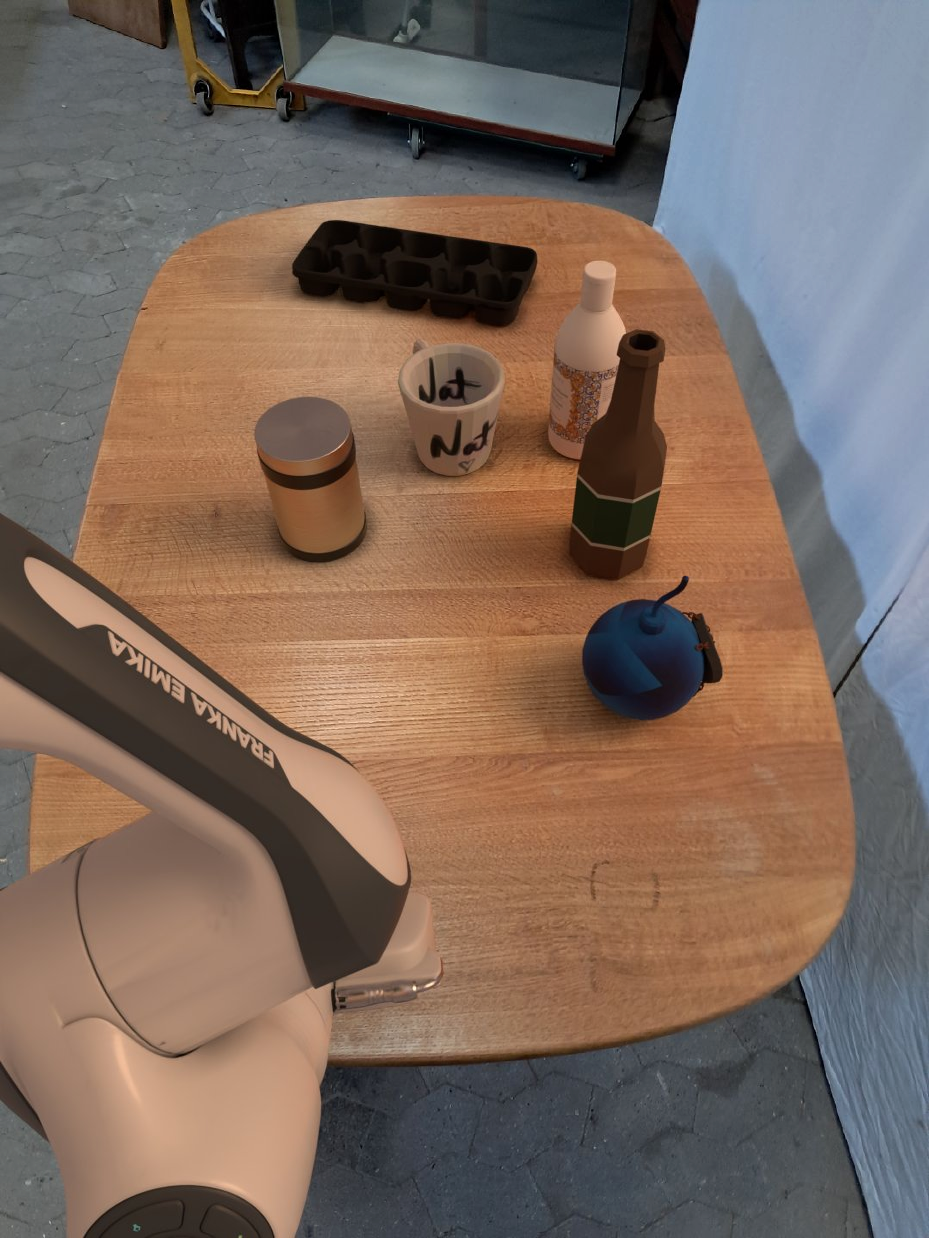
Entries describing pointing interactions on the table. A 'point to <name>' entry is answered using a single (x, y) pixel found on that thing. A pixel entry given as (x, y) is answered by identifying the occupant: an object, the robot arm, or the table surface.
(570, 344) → the bath foam
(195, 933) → the robot arm
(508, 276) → the egg carton
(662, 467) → the beer bottle
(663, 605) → the bomb
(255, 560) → the table surface
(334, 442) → the copper canister
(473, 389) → the mug
